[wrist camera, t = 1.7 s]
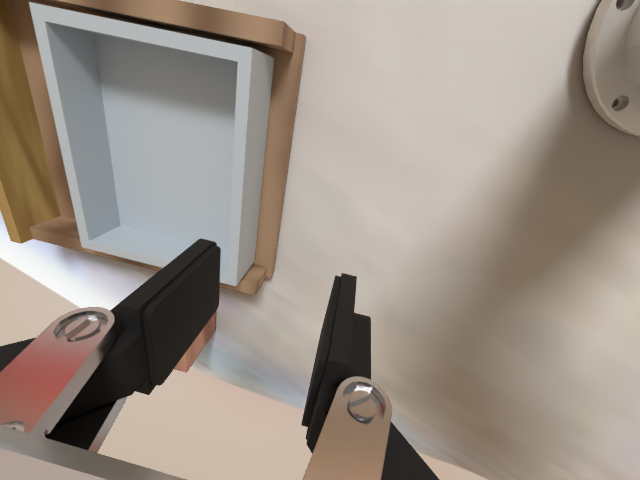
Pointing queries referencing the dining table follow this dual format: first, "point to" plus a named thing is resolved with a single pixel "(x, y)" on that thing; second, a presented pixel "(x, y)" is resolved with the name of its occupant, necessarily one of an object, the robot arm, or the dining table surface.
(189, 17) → the bay
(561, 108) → the dining table surface
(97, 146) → the grey tray
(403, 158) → the dining table surface
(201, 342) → the block
